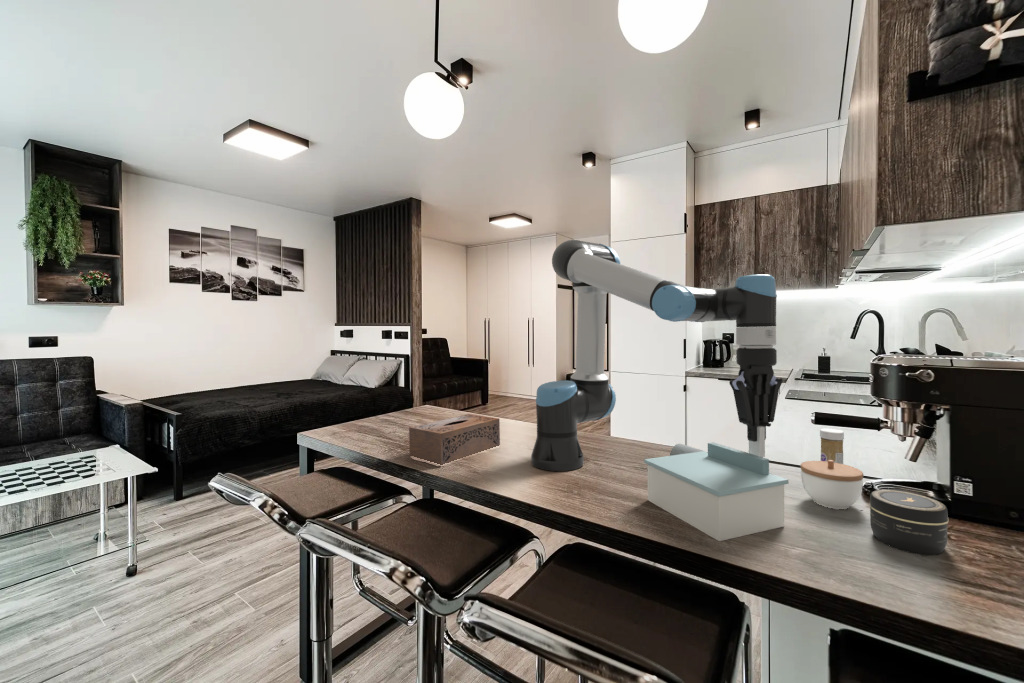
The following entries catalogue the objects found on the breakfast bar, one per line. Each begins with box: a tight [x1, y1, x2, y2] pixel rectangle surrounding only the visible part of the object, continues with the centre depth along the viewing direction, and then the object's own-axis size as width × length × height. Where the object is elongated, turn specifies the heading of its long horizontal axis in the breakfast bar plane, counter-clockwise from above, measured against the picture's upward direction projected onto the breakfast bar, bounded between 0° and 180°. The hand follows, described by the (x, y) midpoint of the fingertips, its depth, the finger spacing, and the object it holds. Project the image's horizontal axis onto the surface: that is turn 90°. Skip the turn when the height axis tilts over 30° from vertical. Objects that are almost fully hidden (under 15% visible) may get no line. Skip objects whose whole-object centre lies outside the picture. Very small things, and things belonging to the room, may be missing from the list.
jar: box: [869, 489, 950, 556], centre depth 73 cm, size 10×10×8 cm
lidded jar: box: [800, 460, 864, 510], centre depth 90 cm, size 11×11×9 cm
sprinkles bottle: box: [819, 427, 845, 464], centre depth 100 cm, size 5×5×14 cm
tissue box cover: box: [408, 413, 501, 465], centre depth 134 cm, size 26×14×10 cm, turn 141°
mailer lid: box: [643, 441, 789, 496], centre depth 87 cm, size 21×17×4 cm
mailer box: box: [646, 464, 785, 542], centre depth 87 cm, size 20×16×8 cm
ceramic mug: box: [669, 443, 704, 456], centre depth 110 cm, size 11×8×8 cm
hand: (756, 455), depth 91 cm, fingers closed
